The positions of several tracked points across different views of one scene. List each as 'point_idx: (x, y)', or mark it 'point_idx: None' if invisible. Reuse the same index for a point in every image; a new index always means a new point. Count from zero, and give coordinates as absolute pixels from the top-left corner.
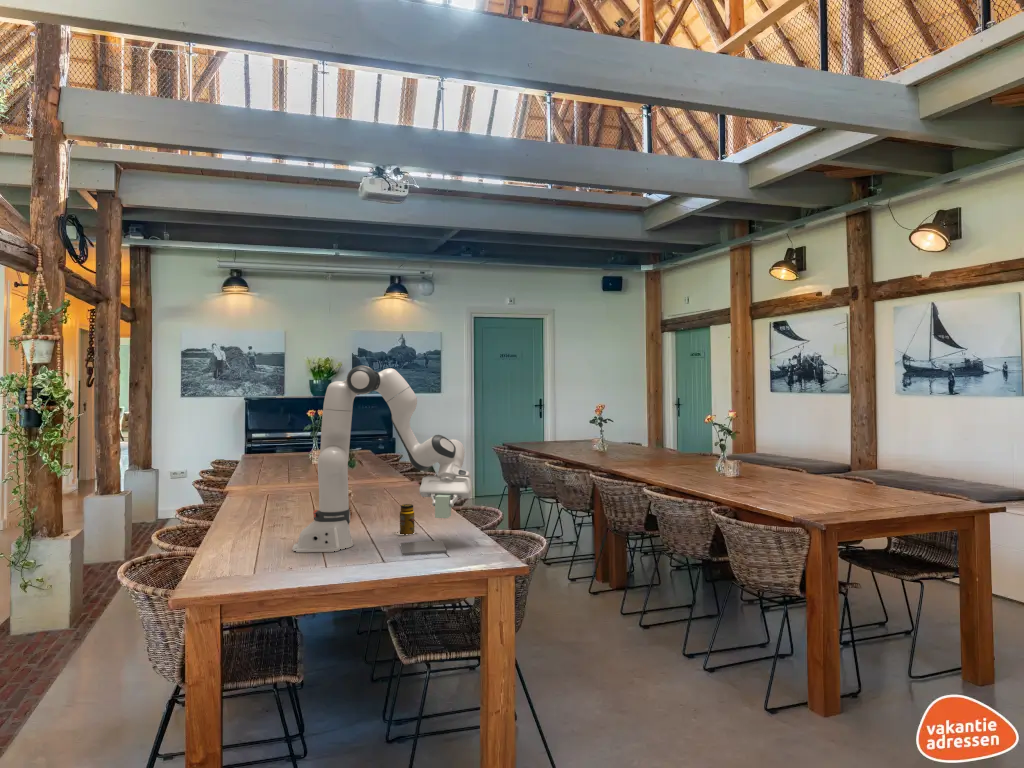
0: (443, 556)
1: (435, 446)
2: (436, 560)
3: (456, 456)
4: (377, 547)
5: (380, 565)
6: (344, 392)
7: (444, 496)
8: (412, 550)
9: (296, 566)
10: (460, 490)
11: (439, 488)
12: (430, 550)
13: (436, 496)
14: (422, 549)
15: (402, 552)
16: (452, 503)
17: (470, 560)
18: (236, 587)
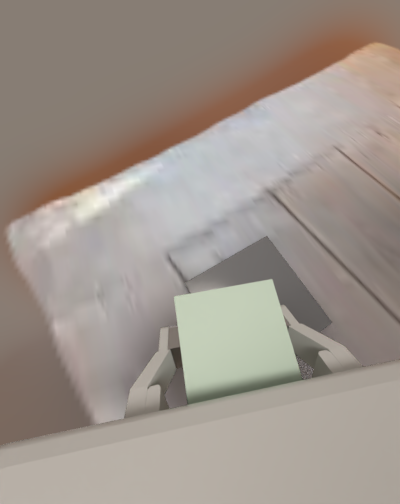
0: (180, 254)
1: None
2: (181, 223)
3: None
4: (364, 289)
5: (262, 173)
6: None
7: (208, 306)
8: (258, 259)
9: (381, 141)
10: (65, 472)
11: (341, 438)
12: (219, 270)
13: (264, 284)
14: (242, 273)
15: (271, 243)
16: (161, 330)
17: (113, 239)
18: (360, 68)
